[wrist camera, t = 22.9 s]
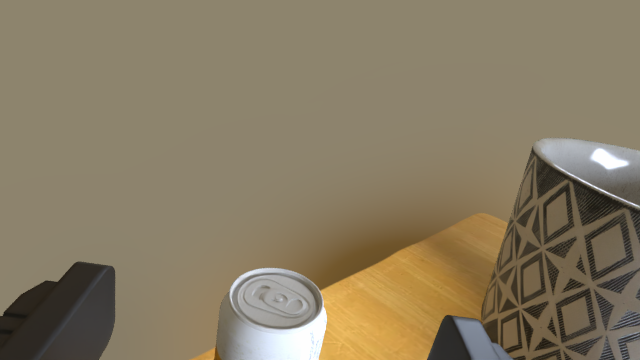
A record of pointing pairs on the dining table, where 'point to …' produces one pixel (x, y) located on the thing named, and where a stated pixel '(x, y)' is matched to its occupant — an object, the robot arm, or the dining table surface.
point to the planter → (570, 257)
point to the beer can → (271, 318)
